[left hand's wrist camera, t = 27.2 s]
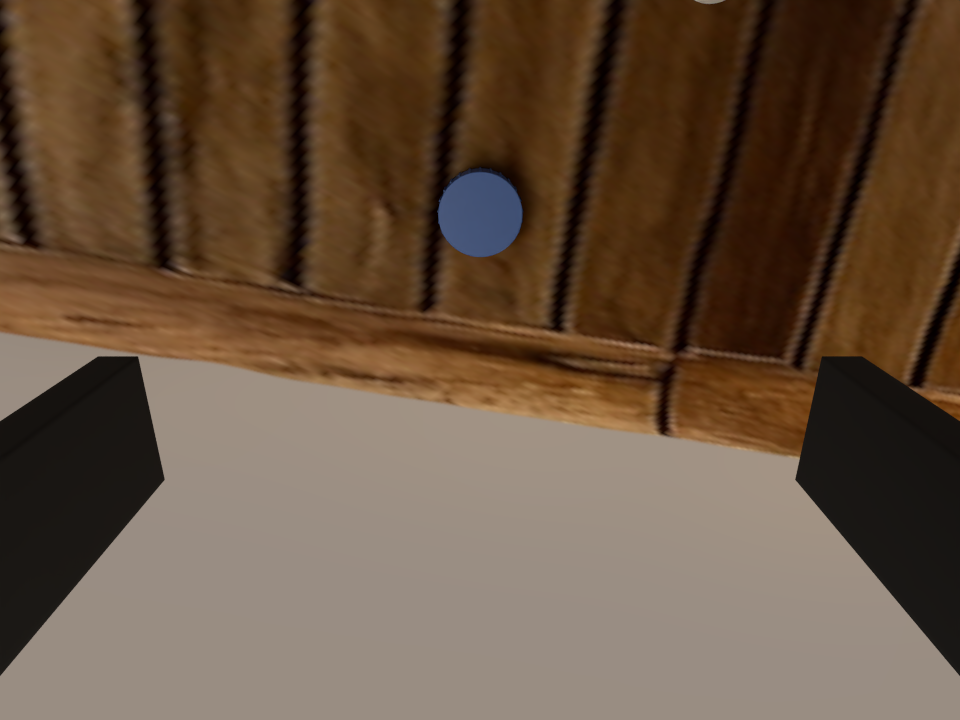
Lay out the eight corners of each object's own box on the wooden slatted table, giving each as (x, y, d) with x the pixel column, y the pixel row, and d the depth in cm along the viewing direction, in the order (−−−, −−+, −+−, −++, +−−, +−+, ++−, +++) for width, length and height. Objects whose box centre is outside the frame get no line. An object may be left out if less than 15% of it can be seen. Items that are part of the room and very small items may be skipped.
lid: (423, 193, 39) (420, 198, 37) (496, 150, 38) (497, 153, 36) (464, 264, 41) (464, 273, 39) (535, 225, 40) (538, 232, 38)
